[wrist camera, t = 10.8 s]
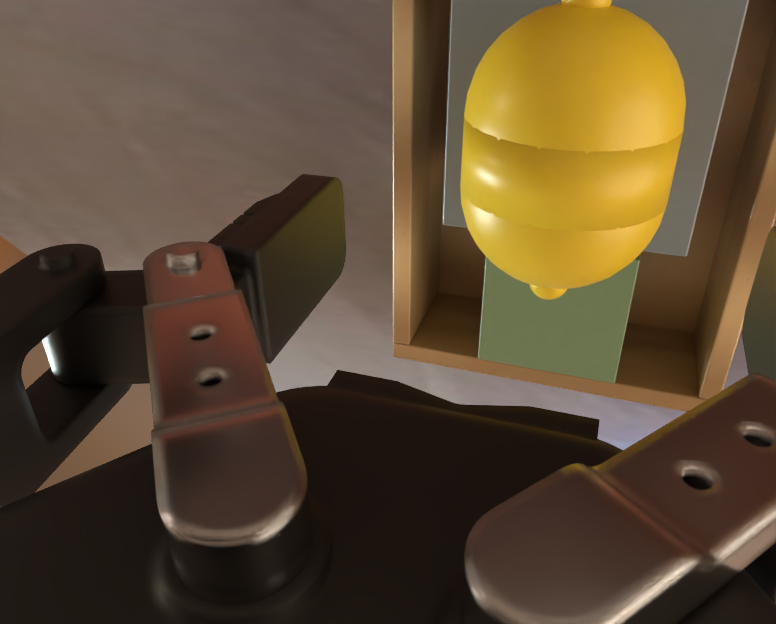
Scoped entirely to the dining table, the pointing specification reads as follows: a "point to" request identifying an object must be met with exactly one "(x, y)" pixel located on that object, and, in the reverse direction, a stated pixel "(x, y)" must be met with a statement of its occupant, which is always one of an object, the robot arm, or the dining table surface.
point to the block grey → (697, 65)
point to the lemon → (570, 144)
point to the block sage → (557, 324)
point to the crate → (656, 271)
